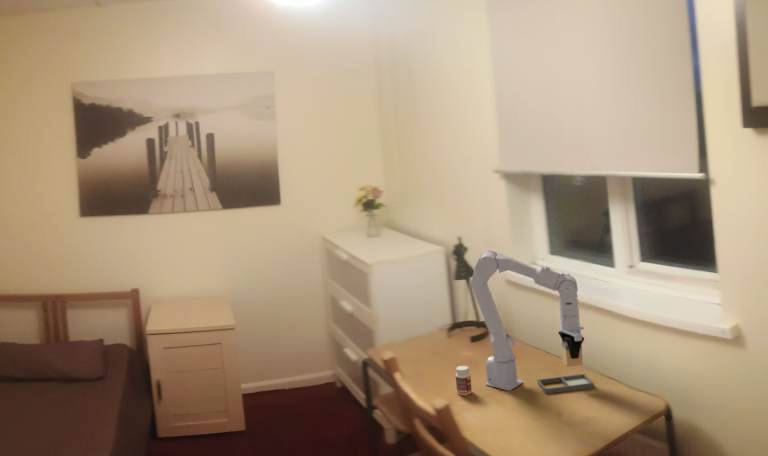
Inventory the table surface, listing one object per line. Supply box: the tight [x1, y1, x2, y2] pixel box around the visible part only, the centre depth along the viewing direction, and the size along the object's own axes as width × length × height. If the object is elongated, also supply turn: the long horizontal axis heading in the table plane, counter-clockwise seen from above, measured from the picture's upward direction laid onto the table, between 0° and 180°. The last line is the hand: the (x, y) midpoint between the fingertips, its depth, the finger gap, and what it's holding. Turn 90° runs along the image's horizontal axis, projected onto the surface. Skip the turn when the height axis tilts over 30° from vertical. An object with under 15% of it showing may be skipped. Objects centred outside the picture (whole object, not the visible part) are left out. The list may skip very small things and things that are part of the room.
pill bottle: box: [455, 365, 473, 396], centre depth 207 cm, size 5×5×8 cm
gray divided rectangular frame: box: [536, 373, 595, 395], centre depth 204 cm, size 16×8×2 cm, turn 92°
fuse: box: [561, 340, 584, 368], centre depth 203 cm, size 5×4×7 cm
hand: (572, 355), depth 203 cm, fingers closed on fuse, 4 cm apart
